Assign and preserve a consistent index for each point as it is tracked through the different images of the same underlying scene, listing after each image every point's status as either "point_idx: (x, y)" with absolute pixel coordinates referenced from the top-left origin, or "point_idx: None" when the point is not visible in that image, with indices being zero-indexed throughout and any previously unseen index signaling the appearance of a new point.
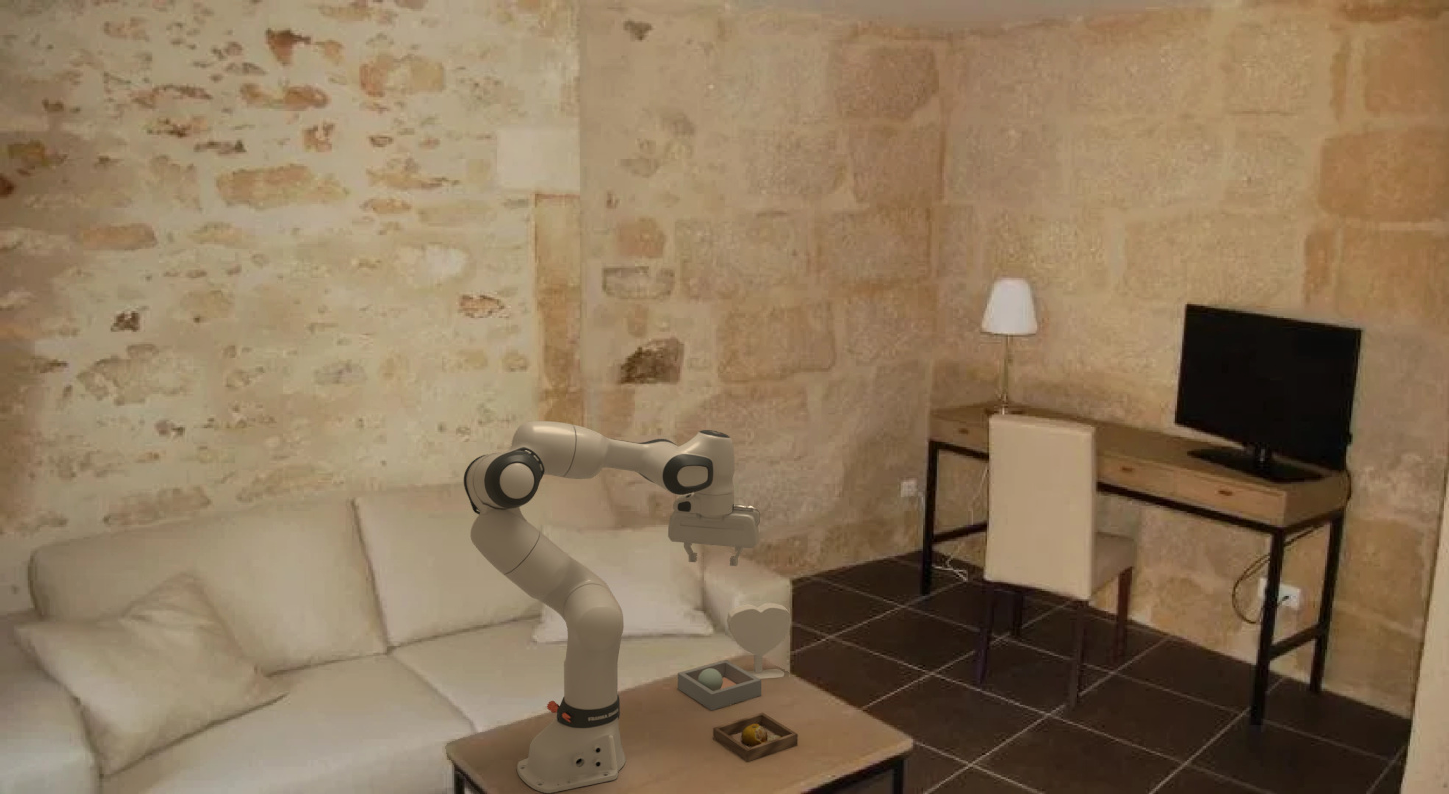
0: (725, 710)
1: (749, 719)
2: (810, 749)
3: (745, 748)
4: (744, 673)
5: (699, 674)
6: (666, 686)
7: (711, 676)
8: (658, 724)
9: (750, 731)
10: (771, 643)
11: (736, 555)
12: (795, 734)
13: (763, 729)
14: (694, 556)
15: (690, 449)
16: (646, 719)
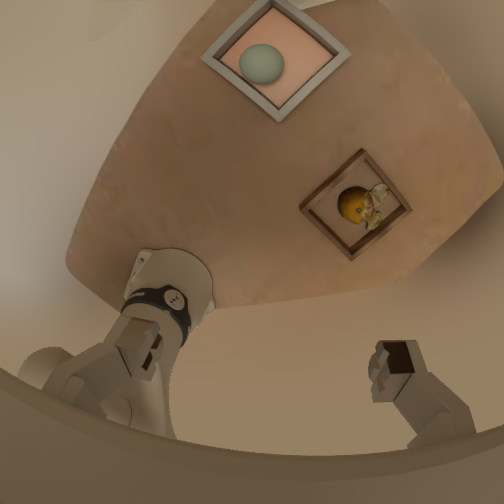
0: (300, 115)
1: (348, 173)
2: (421, 213)
3: (348, 256)
4: (317, 32)
5: (234, 36)
6: (188, 59)
7: (265, 75)
8: (215, 180)
9: (353, 220)
10: None
11: (411, 420)
12: (410, 211)
13: (370, 208)
14: (151, 375)
15: None
16: (194, 170)
